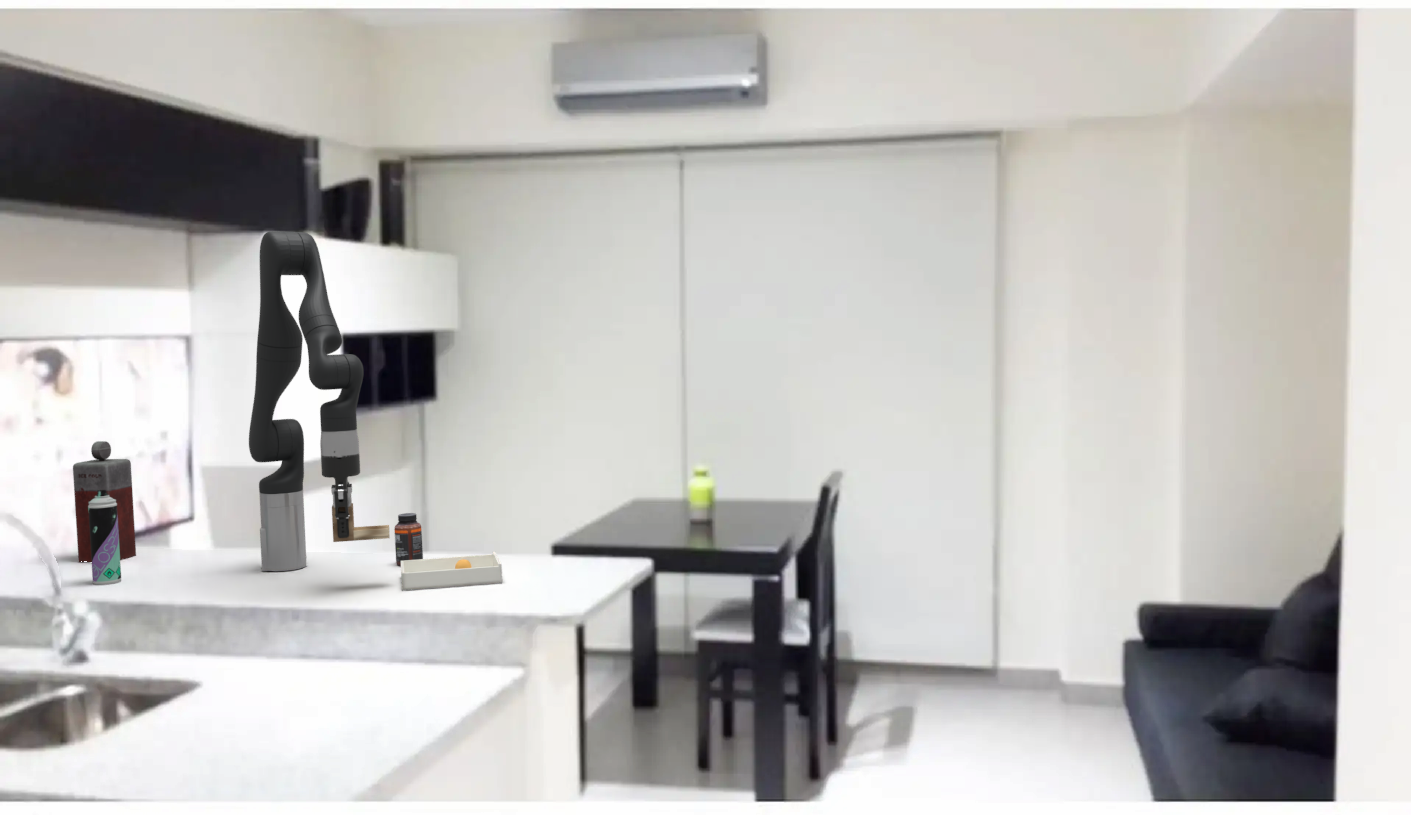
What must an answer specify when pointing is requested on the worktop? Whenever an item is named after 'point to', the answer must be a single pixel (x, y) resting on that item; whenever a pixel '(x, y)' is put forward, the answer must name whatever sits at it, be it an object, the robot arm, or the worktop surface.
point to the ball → (463, 564)
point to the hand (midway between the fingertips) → (344, 534)
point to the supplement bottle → (408, 538)
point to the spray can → (104, 539)
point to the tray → (450, 572)
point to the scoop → (359, 529)
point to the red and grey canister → (118, 486)
